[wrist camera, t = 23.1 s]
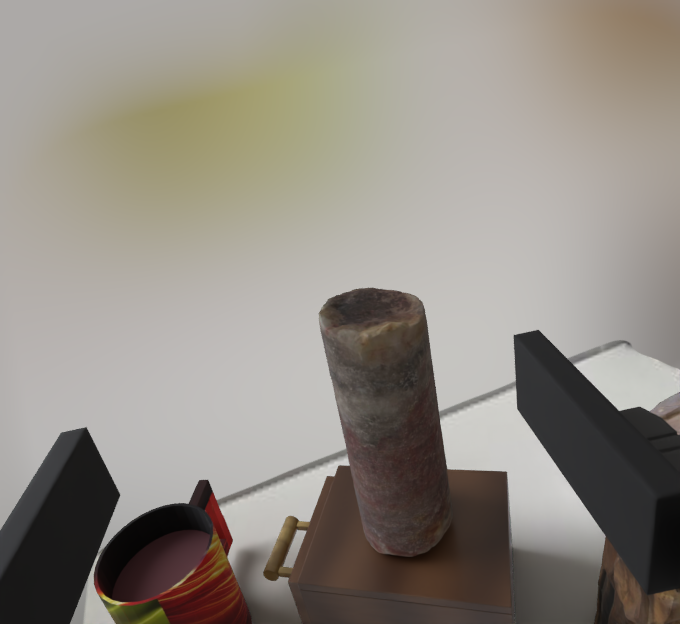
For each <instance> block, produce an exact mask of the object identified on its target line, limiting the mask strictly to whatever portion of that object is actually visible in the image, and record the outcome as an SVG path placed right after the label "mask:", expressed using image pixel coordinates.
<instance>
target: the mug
mask: <svg viewBox="0 0 680 624" xmlns="http://www.w3.org/2000/svg"><path fill="white" fill-rule="evenodd" d="M205 510H206V511H205ZM232 542H233V539H232V537H231V534H230V532H229V529H228V527H227V524H226V522H225V519H224V517H223V515H222V513H221V511H220V508H219V506H218V503H217V501H216V499H215V496H214V493H213V491H212V488H211V486H210V484H209V481H208V480H199V482H198V484H197V486H196V488H195V491H194V493H193V495H192V497H191V500H190V502H189V504H185V503H179V504H170V505H165V506H162V507H159V508H156V509H153V510H151V511H149V512H146V513H144V514H142V515H141V516H139V517H137V518H136V519H134V520H132V521H131V522H130V523H129V524H127V525H126V526H125V527H123V528H122V529H121V530H120V531H119V532H118V533H117V534H116V535H115V536H114V537H113V538H112V539H111V540H110V542H109V543H108V544H107V545H106V547H105V548H104V550H103V552H102V553H101V555H100V557H99V559H98V561H97V564H96V567H95V572H94V585H95V588H96V591H97V593H98V595H99V597H100V598H101V600H102V602H103V603H104V605H105V607H106V608H107V610H108V612H109V613H110V615H111V617H112V618H113V620H114V622H115V623H116V624H252V620H251V615H250V612H249V609H248V606H247V604H246V602H245V599H244V597H243V594H242V592H241V590H240V587H239V585H238V582H237V580H236V578H235V575H234V573H233V570H232V568H231V566H230V563H229V561H228V558H227V556H228V553H229V550H230V547H231V544H232Z"/></svg>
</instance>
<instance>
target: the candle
mask: <svg viewBox="0 0 680 624" xmlns="http://www.w3.org/2000/svg"><path fill="white" fill-rule="evenodd" d="M319 323H320V329H321V334H322V339H323V343H324V348H325V353H326V357H327V362H328V366H329V371H330V376H331V379H332V382H333V387H334V392H335V398H336V402H337V406H338V411H339V416H340V420H341V425H342V429H343V434H344V438H345V443H346V448H347V453H348V459H349V464H350V469H351V474H352V477H353V483H354V488H355V493H356V498H357V502H358V506H359V511H360V516H361V520H362V525H363V529H364V533H365V536H366V539H367V541H368V542H369V543H370V545H371V546H372V547H373V548H374V549H375V550H376V551H378V552H379V553H382V554H391V555H398V556H405V557H413V556H416V555H418V554H422V553H425V552H427V551H429V550H430V549H431V547H434V546H435V545H436V544H437V543H438V542H439V541H440V540H441V538H442V537H443V535H444V533H445V532H446V531H447V529H448V528H449V526H450V523H451V520H452V517H453V511H452V502H451V495H450V487H449V481H448V473H447V466H446V459H445V452H444V445H443V438H442V431H441V425H440V417H439V410H438V402H437V394H436V387H435V380H434V373H433V365H432V359H431V351H430V343H429V335H428V327H427V320H426V315H425V309H424V306H423V303H422V302H421V301H420V300H419V298H417V297H416V296H414V295H411V294H408V293H402V292H399V291H394V290H383V289H376V288H364V289H355V290H352V291H350V292H346V293H343V294H341V295H336V296H335V297H332V298H330V299H328V301H327V302H326V304H325V305H323V307H322V309H321V311H320V312H319Z"/></svg>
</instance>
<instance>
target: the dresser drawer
mask: <svg viewBox="0 0 680 624" xmlns="http://www.w3.org/2000/svg"><path fill="white" fill-rule="evenodd" d="M333 480H334V477H332V476H327V478H326V480H325V483H324V486H323V488H322V491H321V494H320V497H319V499H318V502H317V505H316V507H315V510H314V513H313V516H312V518H311V521H310V522H302V521H299V520H298V519H297V518H296V517H293V516H288V517H287V518H286V520H285V522H284V525H283V527H282V529H281V532H280V534H279V536H278V539H277V541H276V544H275V546H274V548H273V551H272V553H271V555H270V558H269V560H268V562H267V565H266V567H265V570H264V572H263V575H264V576H265V578H267V579H268V580H271V581H276V580H277V579H278V577H279V576H280V577H288V578H289V580H288V583H289V586H290V589H291V592H292V595H293V598H294V601H295V603H296V606H297V609H298V612H299V615H300V618H301V620H302V623H303V624H311V622H310V620H309V617H308V614H307V611H306V608H305V605H304V602H303V599H302V596H301V593H300V590H299V587H298V584H297V582H298V579H299V576H300V574H301V571H302V568H303V565H304V562H305V559H306V557H307V554H308V551H309V548H310V545H311V542H312V539H313V537H314V534H315V531H316V528H317V525H318V522H319V520H320V517H321V514H322V511H323V508H324V505H325V503H326V500H327V497H328V494H329V491H330V488H331V486H332V483H333ZM297 529H298V530H304V531H307V532H306V534H305V537H304V540H303V543H302V545H301V548H300V551H299V553H298V556H297V559H296V561H295V564H294V567H293V568H289V567H283V564H284V562H285V559H286V557H287V554H288V552H289V549H290V547H291V544H292V541H293V539H294V536H295V534H296V531H297Z"/></svg>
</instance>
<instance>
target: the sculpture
mask: <svg viewBox="0 0 680 624" xmlns="http://www.w3.org/2000/svg"><path fill="white" fill-rule="evenodd" d="M650 412H651V413H653V414H655V415H657V416H660V417H661V418H663V419H664V420H665V421H666V422H667V423H668V424H669V425H670V426H671V427H672V428H673V429H675V430H676V431H677V434H678V435H680V392H679V393H677V394H675V395H673V396H671V397H669V398H667V399H665V400H664V401H662V402H660V403H659V404H658V405H657V406H656V407H655V408H654V409H652V410H651V411H650ZM598 585H599V586H598V598H597V612H596V616H595V622H594V624H680V588H679V589H674V590H670V591H665V592H660V593H656V594H651V595H646V593H645V592H644V590H643V589H642V587H641V586H640V585H639V583H638V582H637V580H636V579H635V577H634V576H633V574H632V573H631V572H630V570H629V569H628V567H627V566H626V564H625V563H624V561H623V560H622V559H621V557H620V556H619V554H618V553H617V551H616V550H615V549H614V547H613V546H612V544H611V543H610V541H609V540H608V538H607V537H606V538H605V545H604V551H603V558H602V566H601V570H600V575H599V580H598Z"/></svg>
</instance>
